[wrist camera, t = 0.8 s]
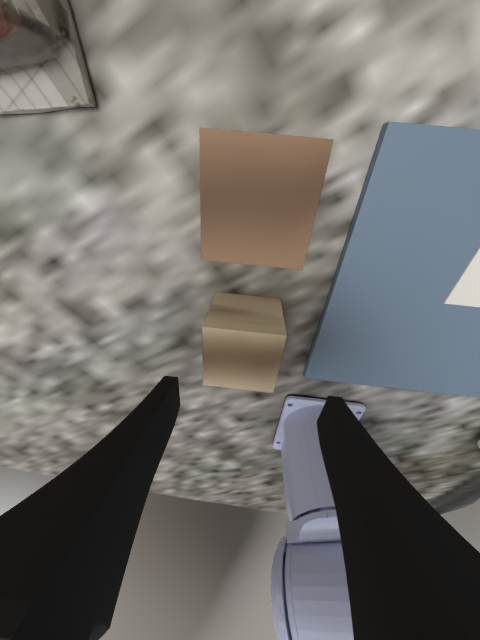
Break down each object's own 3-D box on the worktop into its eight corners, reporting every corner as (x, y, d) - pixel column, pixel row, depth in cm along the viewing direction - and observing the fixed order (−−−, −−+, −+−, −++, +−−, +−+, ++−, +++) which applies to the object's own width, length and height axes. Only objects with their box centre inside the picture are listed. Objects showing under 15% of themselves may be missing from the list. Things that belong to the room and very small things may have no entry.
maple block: (270, 348, 20) (273, 392, 16) (215, 342, 20) (203, 385, 16) (280, 298, 17) (286, 335, 13) (216, 291, 17) (202, 326, 13)
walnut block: (290, 245, 15) (302, 270, 11) (217, 238, 15) (201, 259, 11) (308, 154, 12) (333, 139, 8) (219, 146, 12) (199, 127, 8)
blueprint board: (495, 394, 21) (502, 401, 20) (303, 373, 21) (304, 378, 20) (745, 156, 11) (772, 154, 10) (383, 124, 11) (390, 121, 11)
